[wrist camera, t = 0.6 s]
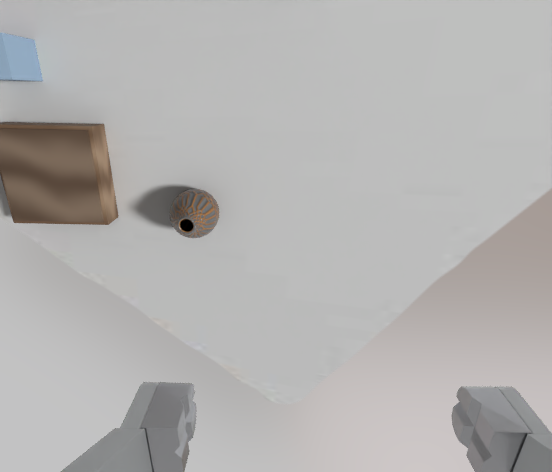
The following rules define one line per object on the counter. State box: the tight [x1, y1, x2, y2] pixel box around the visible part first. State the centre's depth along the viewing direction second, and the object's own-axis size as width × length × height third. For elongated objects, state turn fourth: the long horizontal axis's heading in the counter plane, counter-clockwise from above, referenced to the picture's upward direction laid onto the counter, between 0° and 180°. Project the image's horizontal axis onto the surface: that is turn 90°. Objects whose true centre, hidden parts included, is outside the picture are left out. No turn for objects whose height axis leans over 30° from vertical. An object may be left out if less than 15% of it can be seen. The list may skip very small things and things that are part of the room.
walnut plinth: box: [0, 122, 118, 225], centre depth 51 cm, size 14×14×4 cm
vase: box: [170, 189, 219, 238], centre depth 51 cm, size 7×7×9 cm
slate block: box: [0, 33, 43, 81], centre depth 45 cm, size 5×5×6 cm
